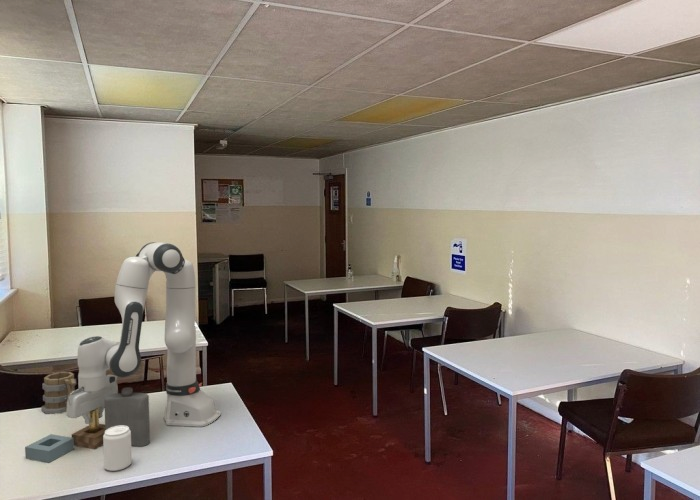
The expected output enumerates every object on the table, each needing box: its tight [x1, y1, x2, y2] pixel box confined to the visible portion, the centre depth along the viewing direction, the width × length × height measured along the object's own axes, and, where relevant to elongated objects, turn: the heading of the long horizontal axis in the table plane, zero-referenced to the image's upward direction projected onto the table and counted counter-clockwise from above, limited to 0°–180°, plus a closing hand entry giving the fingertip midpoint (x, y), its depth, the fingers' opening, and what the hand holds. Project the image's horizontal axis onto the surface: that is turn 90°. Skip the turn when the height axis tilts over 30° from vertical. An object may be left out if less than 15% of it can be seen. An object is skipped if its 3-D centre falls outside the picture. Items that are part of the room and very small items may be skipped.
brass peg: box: [88, 408, 100, 434], centre depth 176 cm, size 3×3×12 cm
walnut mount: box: [71, 423, 105, 450], centre depth 176 cm, size 10×10×4 cm
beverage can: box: [102, 425, 133, 472], centre depth 159 cm, size 8×8×12 cm
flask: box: [104, 386, 151, 447], centre depth 174 cm, size 15×6×20 cm, turn 93°
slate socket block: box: [24, 433, 75, 464], centre depth 167 cm, size 10×10×4 cm
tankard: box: [41, 371, 77, 415], centre depth 204 cm, size 20×13×15 cm, turn 50°
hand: (93, 420), depth 176 cm, fingers open, 3 cm apart
